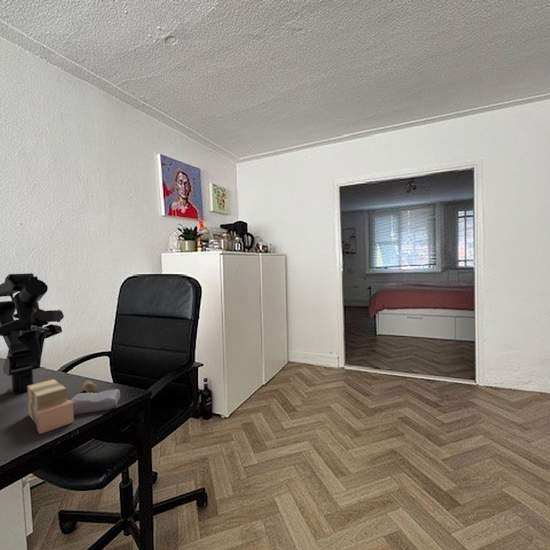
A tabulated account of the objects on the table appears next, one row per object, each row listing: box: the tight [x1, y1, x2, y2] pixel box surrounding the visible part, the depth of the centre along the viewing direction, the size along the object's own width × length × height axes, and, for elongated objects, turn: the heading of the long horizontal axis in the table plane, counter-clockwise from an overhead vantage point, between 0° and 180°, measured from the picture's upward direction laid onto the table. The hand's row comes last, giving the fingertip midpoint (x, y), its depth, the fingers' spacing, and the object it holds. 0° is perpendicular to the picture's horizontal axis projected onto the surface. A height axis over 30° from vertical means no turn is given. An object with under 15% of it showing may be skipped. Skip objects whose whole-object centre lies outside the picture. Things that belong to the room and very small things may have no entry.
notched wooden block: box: [27, 378, 68, 426], centre depth 81 cm, size 12×6×8 cm, turn 49°
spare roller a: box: [81, 380, 99, 393], centre depth 98 cm, size 5×3×3 cm
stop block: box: [36, 399, 75, 435], centre depth 76 cm, size 3×7×5 cm, turn 139°
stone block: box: [70, 388, 121, 416], centre depth 87 cm, size 12×5×10 cm
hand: (39, 355), depth 94 cm, fingers closed
